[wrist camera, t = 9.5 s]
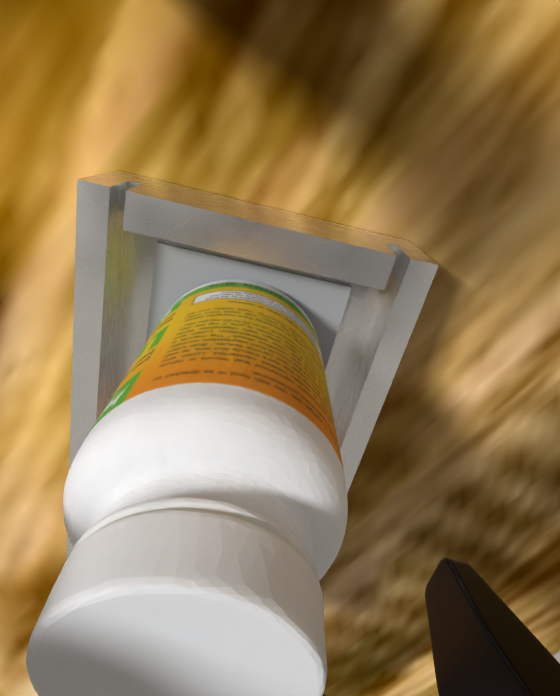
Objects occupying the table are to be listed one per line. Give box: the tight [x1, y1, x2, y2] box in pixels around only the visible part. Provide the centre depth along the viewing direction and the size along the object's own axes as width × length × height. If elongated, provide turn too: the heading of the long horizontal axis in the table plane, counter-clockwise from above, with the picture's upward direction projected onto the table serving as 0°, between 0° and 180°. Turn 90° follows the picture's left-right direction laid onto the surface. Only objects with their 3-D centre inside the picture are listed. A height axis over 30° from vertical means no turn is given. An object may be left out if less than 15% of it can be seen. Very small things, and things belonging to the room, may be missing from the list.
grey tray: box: [67, 170, 439, 559], centre depth 14 cm, size 16×10×8 cm, turn 167°
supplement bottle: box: [26, 279, 348, 696], centre depth 10 cm, size 5×5×10 cm
